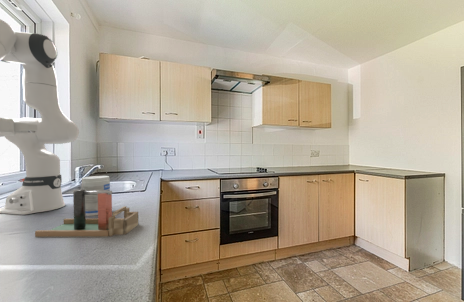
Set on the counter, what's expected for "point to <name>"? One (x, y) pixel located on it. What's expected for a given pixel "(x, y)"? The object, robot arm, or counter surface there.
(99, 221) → the pillars with crossbar
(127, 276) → the counter surface
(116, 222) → the wooden frame
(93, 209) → the supplement tub
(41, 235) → the tray
